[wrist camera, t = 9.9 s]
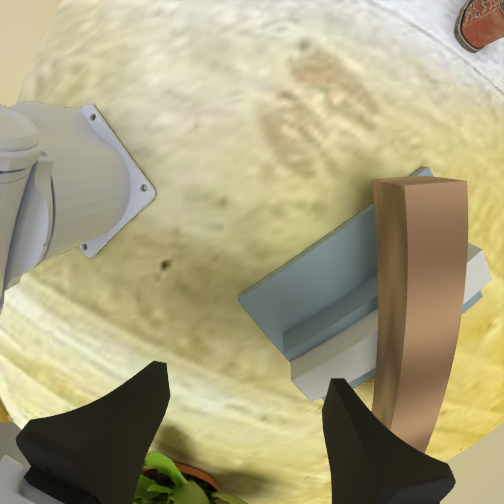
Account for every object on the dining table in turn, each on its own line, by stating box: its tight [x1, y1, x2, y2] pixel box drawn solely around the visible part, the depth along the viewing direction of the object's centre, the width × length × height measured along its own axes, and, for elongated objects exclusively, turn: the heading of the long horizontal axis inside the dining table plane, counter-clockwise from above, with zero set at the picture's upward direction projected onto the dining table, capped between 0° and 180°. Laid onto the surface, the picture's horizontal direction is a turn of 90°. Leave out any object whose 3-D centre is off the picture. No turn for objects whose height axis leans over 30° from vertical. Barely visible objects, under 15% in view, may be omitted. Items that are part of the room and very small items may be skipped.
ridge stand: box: [238, 167, 492, 402], centre depth 18 cm, size 16×12×6 cm
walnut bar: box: [372, 176, 468, 453], centre depth 14 cm, size 18×3×4 cm, turn 9°
